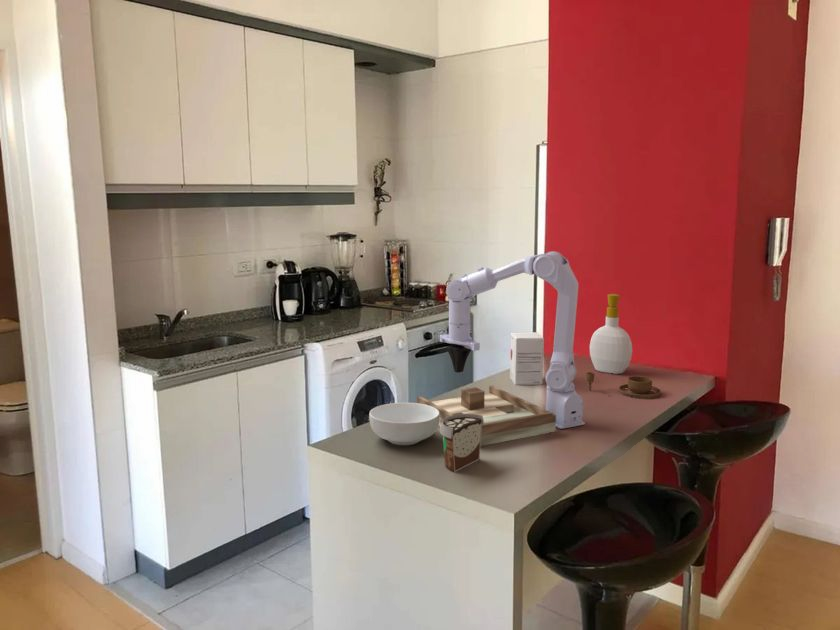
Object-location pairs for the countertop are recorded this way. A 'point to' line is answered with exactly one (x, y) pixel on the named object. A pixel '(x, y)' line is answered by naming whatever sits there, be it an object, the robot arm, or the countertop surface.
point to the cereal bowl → (404, 422)
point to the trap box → (500, 416)
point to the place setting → (632, 386)
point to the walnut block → (472, 398)
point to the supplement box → (526, 358)
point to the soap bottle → (611, 343)
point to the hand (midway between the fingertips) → (458, 371)
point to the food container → (461, 440)
